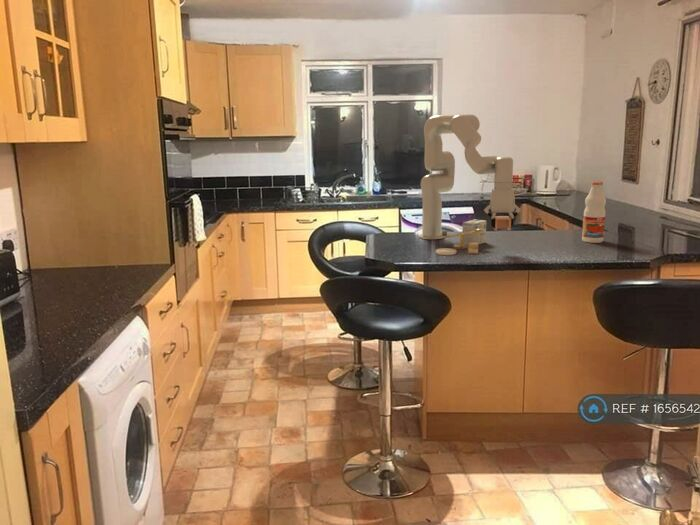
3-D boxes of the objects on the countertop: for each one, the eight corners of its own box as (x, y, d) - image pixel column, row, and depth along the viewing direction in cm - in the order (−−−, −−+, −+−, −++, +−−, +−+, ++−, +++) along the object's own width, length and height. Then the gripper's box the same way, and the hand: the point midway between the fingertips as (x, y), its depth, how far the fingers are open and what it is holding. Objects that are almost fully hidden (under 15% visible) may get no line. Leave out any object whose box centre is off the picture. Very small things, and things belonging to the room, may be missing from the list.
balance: (438, 246, 270) (439, 228, 268) (482, 246, 268) (483, 228, 266) (439, 249, 265) (440, 230, 263) (484, 248, 263) (485, 230, 261)
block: (467, 251, 260) (468, 242, 259) (476, 251, 259) (477, 242, 258) (468, 253, 256) (469, 244, 255) (478, 253, 255) (478, 244, 254)
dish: (435, 250, 261) (435, 248, 261) (455, 250, 260) (455, 248, 260) (436, 255, 252) (436, 252, 252) (457, 255, 252) (457, 252, 251)
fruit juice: (597, 239, 280) (602, 180, 273) (606, 242, 271) (611, 182, 264) (578, 239, 280) (582, 181, 273) (586, 243, 271) (591, 183, 264)
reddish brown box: (493, 228, 257) (493, 216, 256) (507, 228, 257) (508, 216, 256) (495, 230, 251) (495, 218, 250) (510, 230, 251) (511, 218, 249)
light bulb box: (474, 240, 282) (475, 218, 279) (486, 242, 277) (487, 220, 274) (461, 244, 274) (462, 221, 272) (473, 246, 270) (474, 223, 267)
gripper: (521, 185, 253) (520, 225, 257) (481, 185, 254) (480, 226, 258) (525, 186, 245) (523, 228, 249) (484, 187, 247) (483, 229, 251)
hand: (501, 227), depth 254 cm, fingers closed on reddish brown box, 6 cm apart
